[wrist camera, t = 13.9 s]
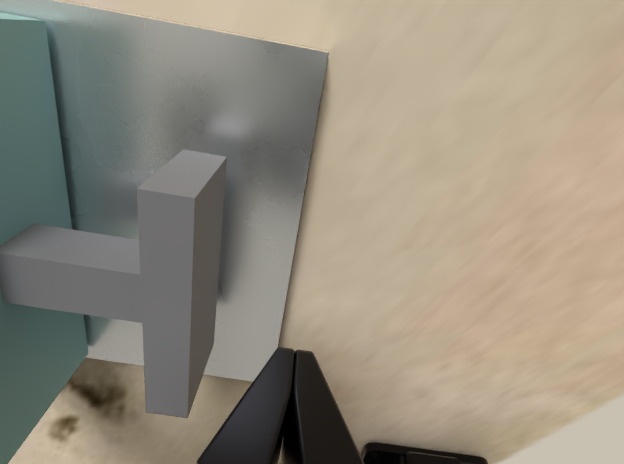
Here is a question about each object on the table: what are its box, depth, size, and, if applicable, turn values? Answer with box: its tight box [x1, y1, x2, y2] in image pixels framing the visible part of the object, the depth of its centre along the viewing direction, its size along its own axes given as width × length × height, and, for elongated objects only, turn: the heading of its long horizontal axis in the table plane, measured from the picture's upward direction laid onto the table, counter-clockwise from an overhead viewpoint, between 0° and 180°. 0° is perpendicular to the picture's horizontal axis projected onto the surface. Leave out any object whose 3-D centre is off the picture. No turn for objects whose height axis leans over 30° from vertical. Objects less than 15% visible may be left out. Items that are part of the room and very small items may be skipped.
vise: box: [0, 0, 328, 382], centre depth 11 cm, size 13×17×6 cm
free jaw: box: [0, 12, 227, 464], centre depth 11 cm, size 12×8×5 cm, turn 170°
